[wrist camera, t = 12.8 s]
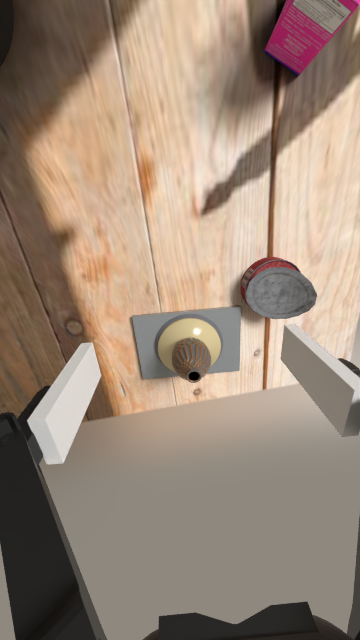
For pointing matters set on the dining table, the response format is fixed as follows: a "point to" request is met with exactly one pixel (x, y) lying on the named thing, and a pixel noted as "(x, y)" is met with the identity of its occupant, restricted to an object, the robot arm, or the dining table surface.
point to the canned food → (277, 289)
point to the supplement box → (306, 30)
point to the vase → (191, 359)
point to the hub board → (171, 327)
